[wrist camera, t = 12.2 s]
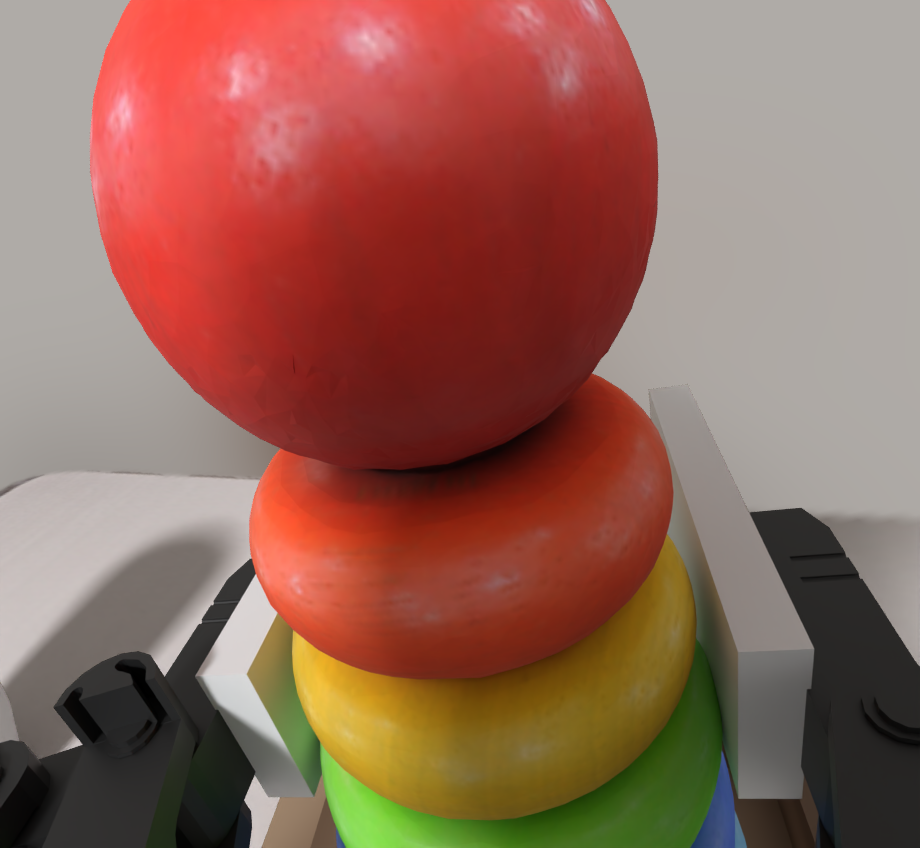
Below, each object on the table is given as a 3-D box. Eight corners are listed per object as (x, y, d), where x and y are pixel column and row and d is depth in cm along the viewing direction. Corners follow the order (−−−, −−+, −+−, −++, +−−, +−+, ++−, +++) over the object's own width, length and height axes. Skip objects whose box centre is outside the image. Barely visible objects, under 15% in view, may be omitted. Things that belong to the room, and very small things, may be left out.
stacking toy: (411, 1328, 10) (-1623, -207, 1) (398, 824, 17) (43, 77, 9) (879, 1200, 10) (1518, -996, 2) (669, 752, 17) (577, -61, 9)
